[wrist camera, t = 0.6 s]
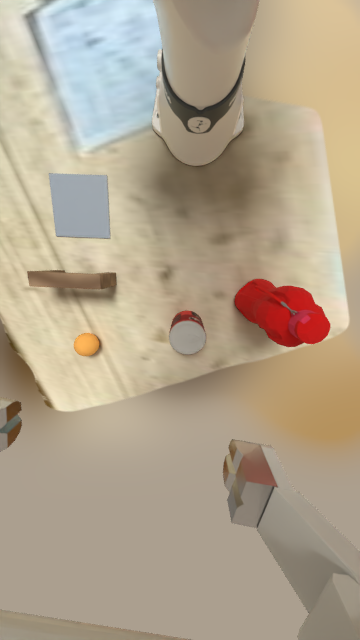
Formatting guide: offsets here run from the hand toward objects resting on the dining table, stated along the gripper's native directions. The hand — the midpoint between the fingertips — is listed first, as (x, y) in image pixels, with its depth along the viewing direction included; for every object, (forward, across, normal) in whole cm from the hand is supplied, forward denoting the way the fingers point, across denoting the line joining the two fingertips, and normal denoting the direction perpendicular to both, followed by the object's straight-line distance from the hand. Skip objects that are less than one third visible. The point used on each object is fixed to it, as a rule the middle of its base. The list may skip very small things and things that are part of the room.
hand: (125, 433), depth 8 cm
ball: (+42, +20, +17) cm, 50 cm away
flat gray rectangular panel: (+44, +25, -15) cm, 53 cm away
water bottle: (+45, -19, -3) cm, 49 cm away
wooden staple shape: (+45, +23, 0) cm, 50 cm away
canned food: (+45, -4, +8) cm, 46 cm away
